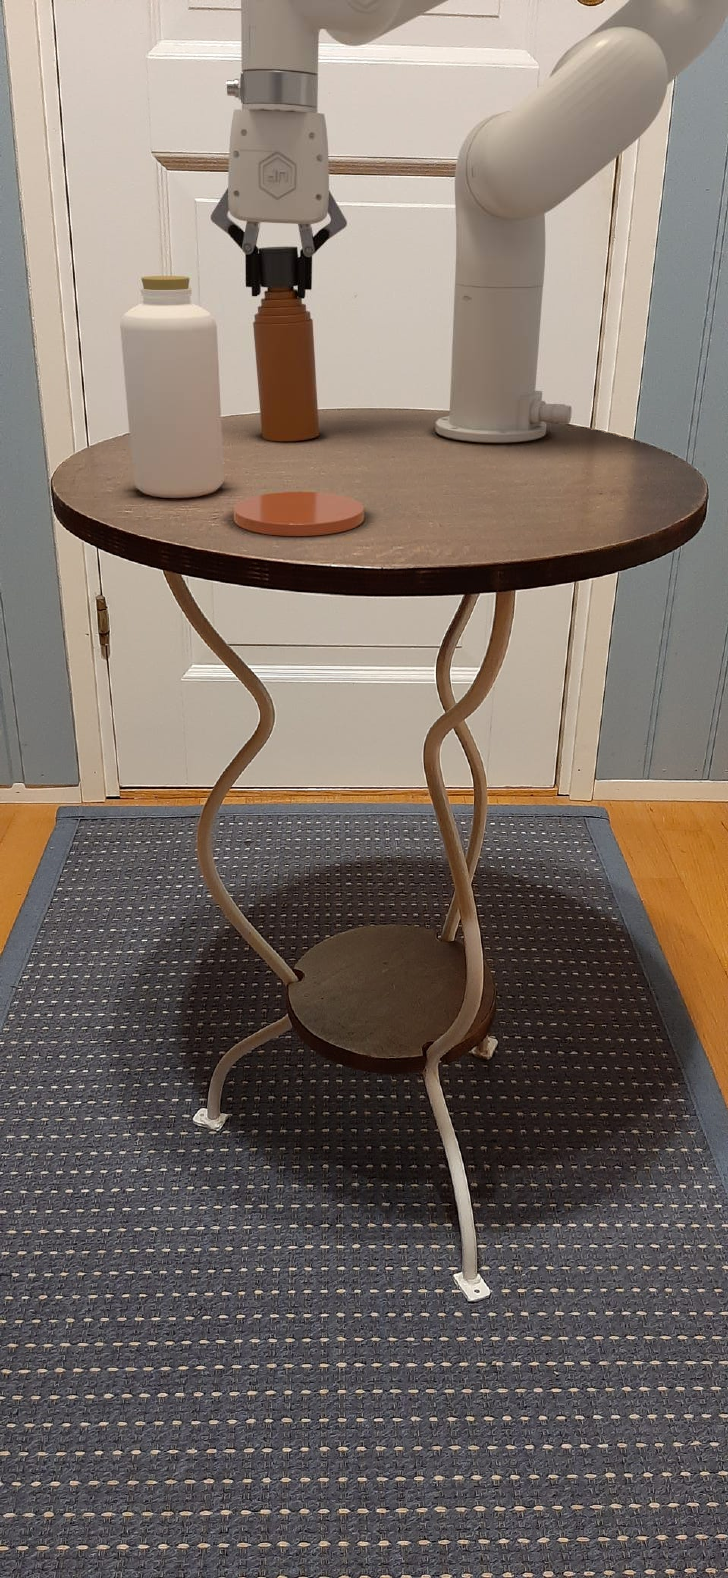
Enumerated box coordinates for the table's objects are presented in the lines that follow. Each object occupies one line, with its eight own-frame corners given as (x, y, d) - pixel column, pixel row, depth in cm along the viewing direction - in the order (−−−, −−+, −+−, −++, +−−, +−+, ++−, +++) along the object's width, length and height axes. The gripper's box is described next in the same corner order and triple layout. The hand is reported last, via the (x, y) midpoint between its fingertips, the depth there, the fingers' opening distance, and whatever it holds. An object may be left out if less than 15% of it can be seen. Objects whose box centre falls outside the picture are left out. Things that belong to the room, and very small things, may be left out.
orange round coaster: (382, 510, 100) (383, 498, 100) (332, 542, 91) (332, 529, 91) (269, 498, 104) (269, 486, 103) (210, 527, 95) (209, 515, 94)
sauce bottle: (328, 430, 130) (318, 251, 122) (304, 442, 125) (292, 255, 117) (277, 428, 133) (264, 252, 124) (252, 440, 127) (236, 256, 119)
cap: (262, 284, 124) (259, 247, 122) (300, 283, 123) (298, 245, 122) (259, 288, 120) (256, 249, 118) (298, 286, 120) (296, 248, 118)
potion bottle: (126, 483, 108) (108, 274, 100) (213, 477, 111) (202, 273, 103) (142, 503, 102) (124, 281, 93) (234, 496, 104) (224, 280, 96)
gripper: (189, 89, 110) (195, 295, 119) (364, 97, 110) (357, 302, 119) (199, 94, 117) (204, 290, 125) (364, 102, 117) (357, 296, 126)
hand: (278, 294), depth 122 cm, fingers closed on cap, 4 cm apart
